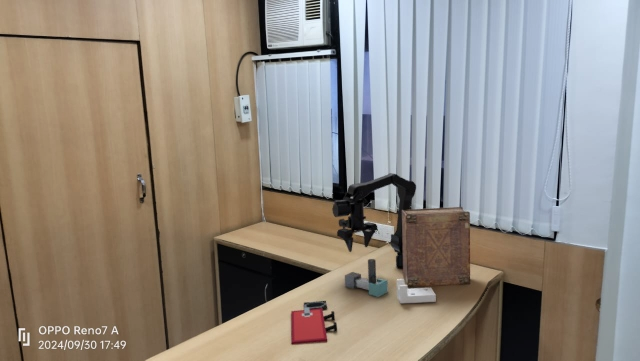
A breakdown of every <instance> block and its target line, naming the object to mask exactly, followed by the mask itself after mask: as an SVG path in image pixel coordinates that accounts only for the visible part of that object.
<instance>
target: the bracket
mask: <svg viewBox="0 0 640 361" xmlns="http://www.w3.org/2000/svg"><path fill="white" fill-rule="evenodd" d="M436 296H437V294H436V293H435V292H434V290H433V289H432V287H411V288H408V286H407V284H405V280H404V278H397V279H396V298H397V300H398V302H399V303H400V304H414V303H415V304H416V303H434V302H437V301H436V299H437V297H436Z"/></svg>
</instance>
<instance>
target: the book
mask: <svg viewBox="0 0 640 361" xmlns="http://www.w3.org/2000/svg"><path fill="white" fill-rule="evenodd" d="M470 215H471V213H470V211H466V210H464V208H463V207H462V206H453V207H435V208H434V207H433V208H432V207H431V208H417V209H414V208H413V209H411V208H410V210H402V240H403V269H402V270H403V272H402V273H403V274H402V276H403V278H402V279H404V283H405V285H407V288H424V287H441V286H442V287H443V286H458V285H461V286H462V285H463V286H464V285H471V216H470Z"/></svg>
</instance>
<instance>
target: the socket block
mask: <svg viewBox="0 0 640 361" xmlns="http://www.w3.org/2000/svg"><path fill="white" fill-rule="evenodd" d="M376 282H380V283H378V284H373V283H369V290H368V295H369V296H373V297H376V298H380V297H382V296H383V295H385V294H387V293H388V292H389V291H388V290H389V288H388V285H389V284H388V279H386V278H385V279H382V278H376Z"/></svg>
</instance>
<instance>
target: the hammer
mask: <svg viewBox="0 0 640 361" xmlns="http://www.w3.org/2000/svg"><path fill="white" fill-rule="evenodd" d="M376 261H377V260H376V259H375V258H369V259H367V274H368V275H367V277H368V278H365V277H362V276H361V277H357V278H355V286H356V287H358V288H360V289H364V290H367V291H369V283H373V284H378V283H380V282H377V263H376Z"/></svg>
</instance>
